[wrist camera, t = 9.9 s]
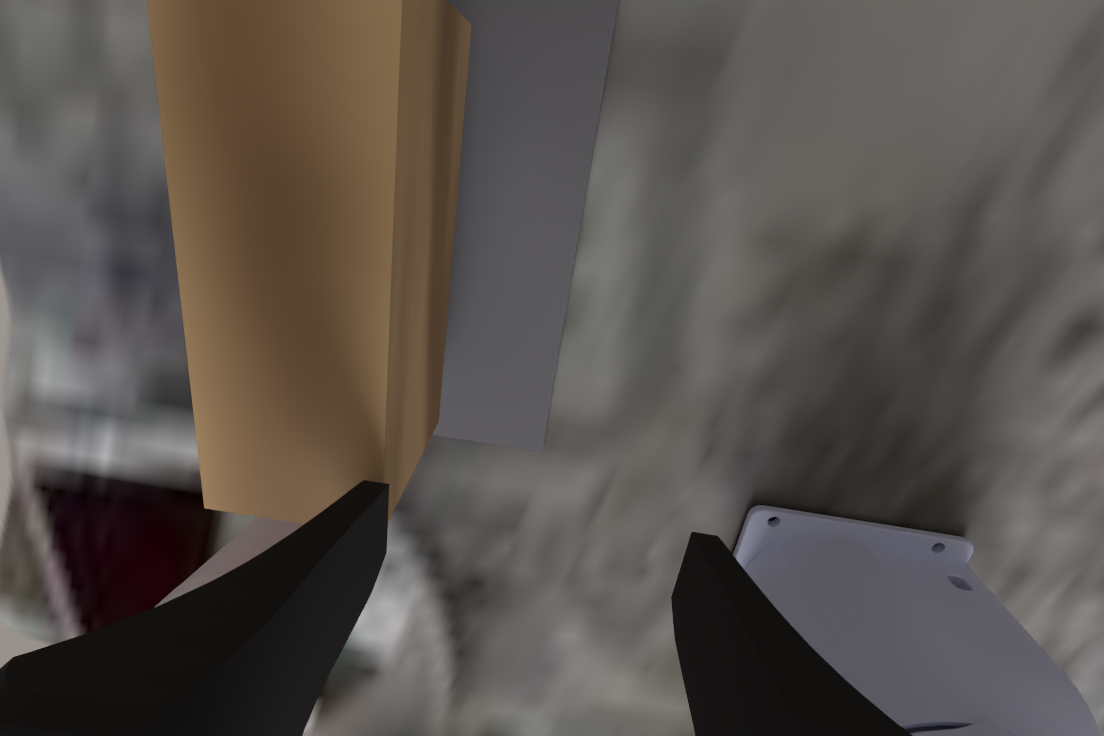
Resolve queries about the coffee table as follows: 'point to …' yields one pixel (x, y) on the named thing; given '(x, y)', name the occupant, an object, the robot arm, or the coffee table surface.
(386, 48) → the oak block
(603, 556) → the coffee table surface
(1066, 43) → the coffee table surface
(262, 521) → the smoothie
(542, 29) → the peg base
